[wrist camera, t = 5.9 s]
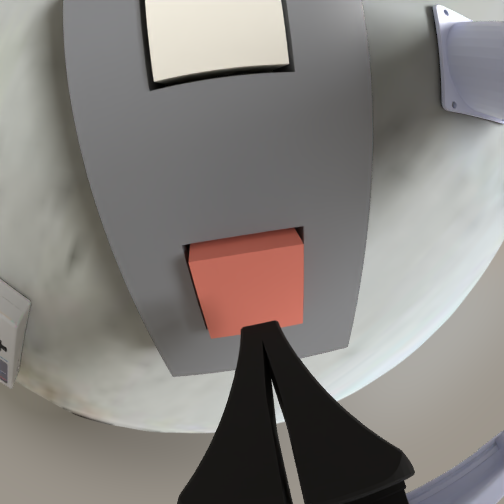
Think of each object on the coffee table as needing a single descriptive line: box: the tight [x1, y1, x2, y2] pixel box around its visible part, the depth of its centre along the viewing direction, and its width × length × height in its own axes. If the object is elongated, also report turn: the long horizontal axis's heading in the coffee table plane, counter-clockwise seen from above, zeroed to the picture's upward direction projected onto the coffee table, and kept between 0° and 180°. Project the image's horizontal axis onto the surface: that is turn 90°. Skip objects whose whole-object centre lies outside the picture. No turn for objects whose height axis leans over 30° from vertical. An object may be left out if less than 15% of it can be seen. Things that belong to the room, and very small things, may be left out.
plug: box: [145, 0, 289, 86], centre depth 9 cm, size 5×5×4 cm
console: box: [63, 0, 373, 377], centre depth 12 cm, size 26×12×4 cm, turn 6°
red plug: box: [188, 228, 304, 339], centre depth 14 cm, size 5×5×4 cm
